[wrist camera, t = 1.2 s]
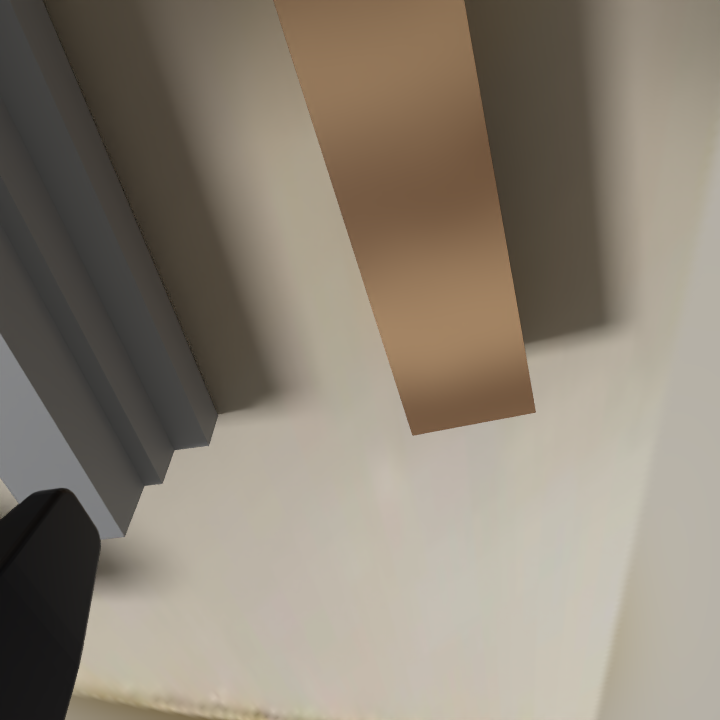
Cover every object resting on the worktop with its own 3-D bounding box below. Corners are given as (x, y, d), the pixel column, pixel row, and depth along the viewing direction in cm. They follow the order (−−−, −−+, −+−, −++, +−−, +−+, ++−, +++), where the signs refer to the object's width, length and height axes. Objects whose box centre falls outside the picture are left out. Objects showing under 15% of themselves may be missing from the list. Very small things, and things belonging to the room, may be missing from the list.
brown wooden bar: (516, 340, 22) (535, 412, 19) (409, 363, 22) (412, 435, 20) (416, -209, 14) (424, -227, 11) (255, -150, 14) (224, -153, 12)
